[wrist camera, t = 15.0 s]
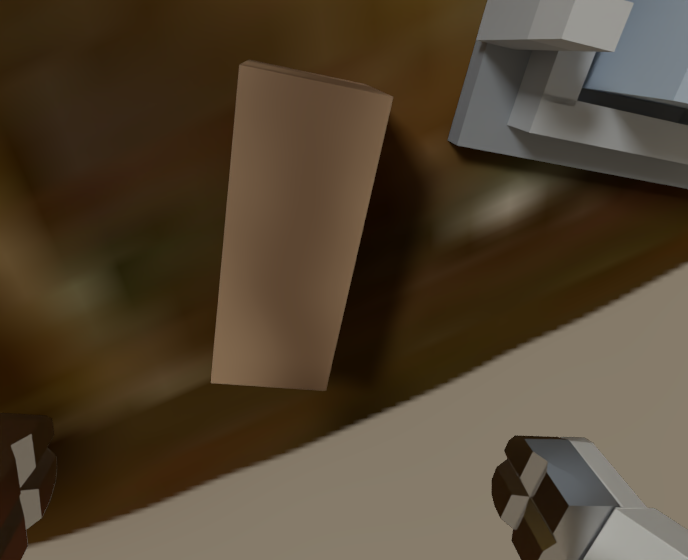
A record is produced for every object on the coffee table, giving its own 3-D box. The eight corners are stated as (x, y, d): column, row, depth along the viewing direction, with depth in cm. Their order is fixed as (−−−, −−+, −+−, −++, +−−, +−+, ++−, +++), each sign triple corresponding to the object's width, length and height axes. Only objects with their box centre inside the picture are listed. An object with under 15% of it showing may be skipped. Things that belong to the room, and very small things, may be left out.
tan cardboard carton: (224, 314, 20) (210, 382, 16) (249, 59, 15) (239, 64, 11) (316, 323, 20) (325, 391, 16) (364, 84, 16) (393, 97, 12)
